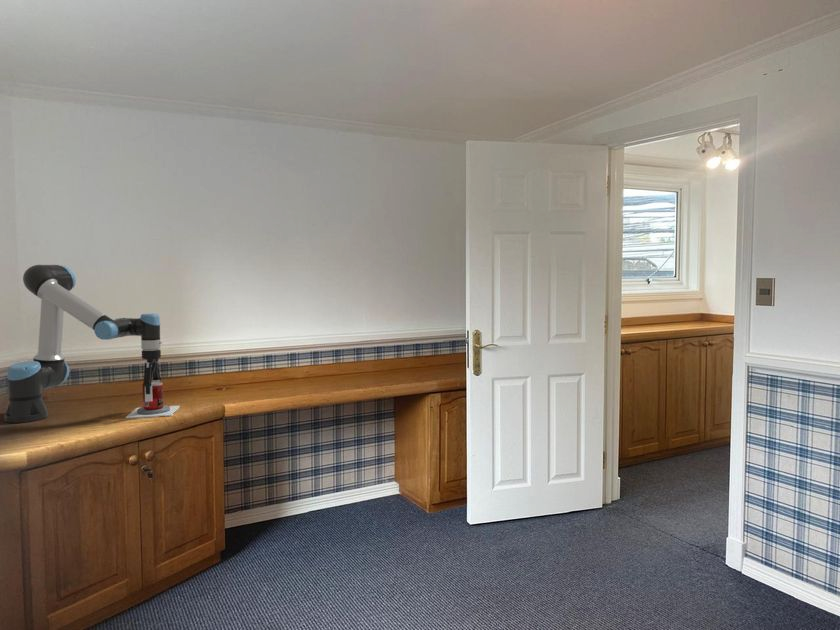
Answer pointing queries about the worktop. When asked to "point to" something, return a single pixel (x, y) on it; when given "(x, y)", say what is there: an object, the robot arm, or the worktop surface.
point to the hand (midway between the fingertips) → (152, 398)
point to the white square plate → (153, 412)
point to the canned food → (154, 397)
